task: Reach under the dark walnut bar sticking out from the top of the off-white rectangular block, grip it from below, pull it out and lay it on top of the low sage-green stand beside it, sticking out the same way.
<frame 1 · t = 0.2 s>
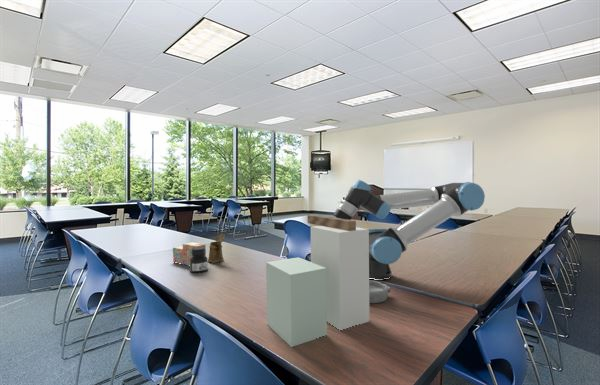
hand: (318, 253, 131), 15 cm above the table, tool tilted 35°, fingers open, 13 cm apart
dish: (371, 298, 118), on the table
low stand: (295, 329, 92), on the table
stack of blocks: (189, 264, 172), on the table
walnut bar: (329, 226, 104), point 30 cm above the table, touching off-white rectangular block
ink bottle: (198, 271, 158), on the table
off-white rectangular block: (339, 316, 101), on the table
brown burlap sack: (217, 262, 176), on the table
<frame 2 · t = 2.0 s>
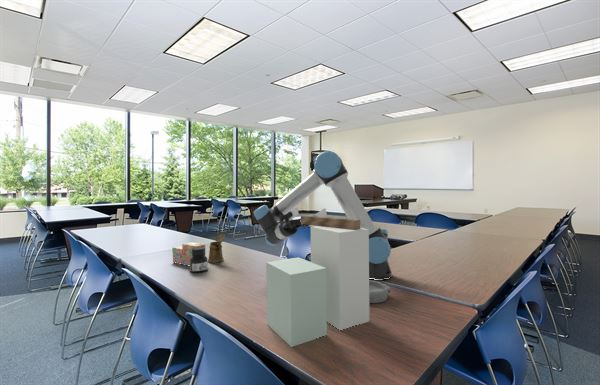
hand: (311, 211, 118), 34 cm above the table, tool pointing upward, fingers open, 13 cm apart
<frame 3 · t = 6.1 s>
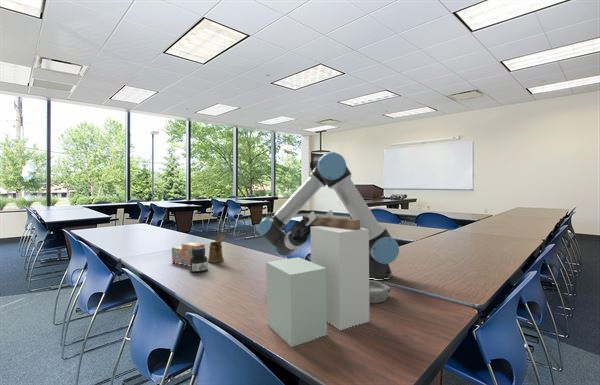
hand: (323, 214, 107), 34 cm above the table, tool pointing upward, fingers open, 7 cm apart
walnut bar: (329, 226, 105), point 30 cm above the table, touching gripper
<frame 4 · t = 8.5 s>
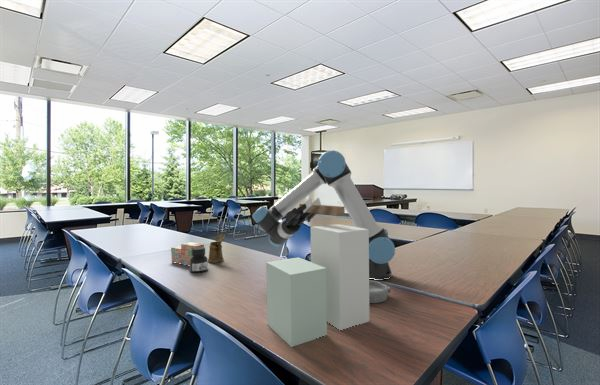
hand: (315, 201, 111), 38 cm above the table, tool pointing upward, fingers closed on walnut bar, 3 cm apart
walnut bar: (320, 213, 109), point 34 cm above the table, touching gripper
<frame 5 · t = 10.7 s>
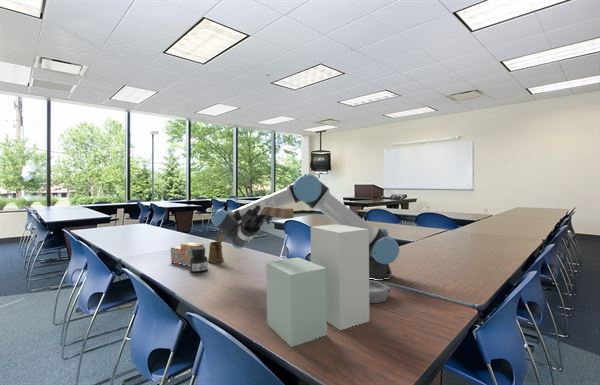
hand: (268, 202, 107), 38 cm above the table, tool pointing upward, fingers closed on walnut bar, 3 cm apart
walnut bar: (272, 215, 104), point 34 cm above the table, touching gripper
when the fingers open (25 cm above the table, at t = 14.5 s): walnut bar stays where it is, resting on low stand.
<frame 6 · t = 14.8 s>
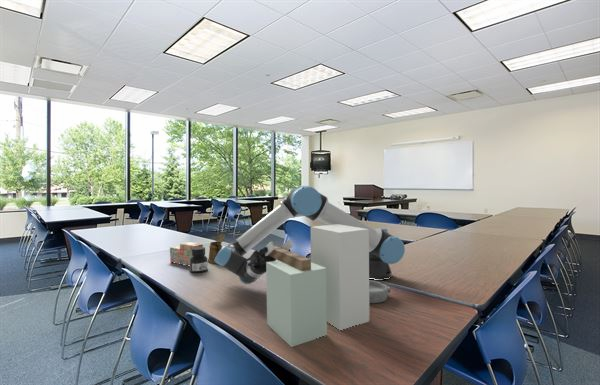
hand: (281, 244, 99), 25 cm above the table, tool pointing upward, fingers open, 6 cm apart
walnut bar: (286, 261, 96), point 20 cm above the table, touching low stand
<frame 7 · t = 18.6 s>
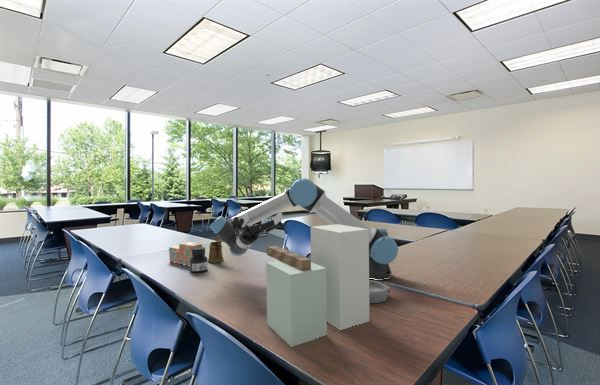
hand: (264, 215, 110), 34 cm above the table, tool pointing upward, fingers open, 13 cm apart
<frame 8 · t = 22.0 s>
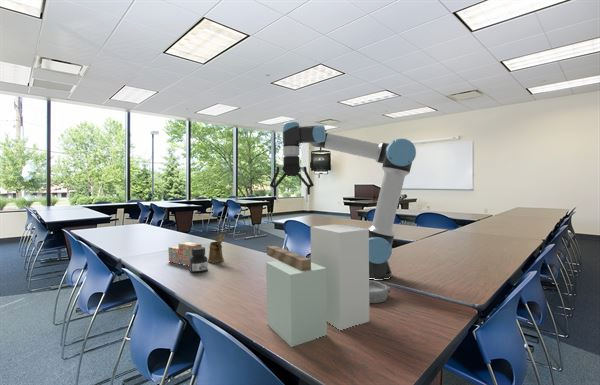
hand: (292, 202, 138), 37 cm above the table, tool pointing down, fingers open, 13 cm apart
at the end: walnut bar inside the target area on the low stand (0.1 cm from its centre), point 20.0 cm above the low stand's base; walnut bar tilted 0°; the gripper is holding nothing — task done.
